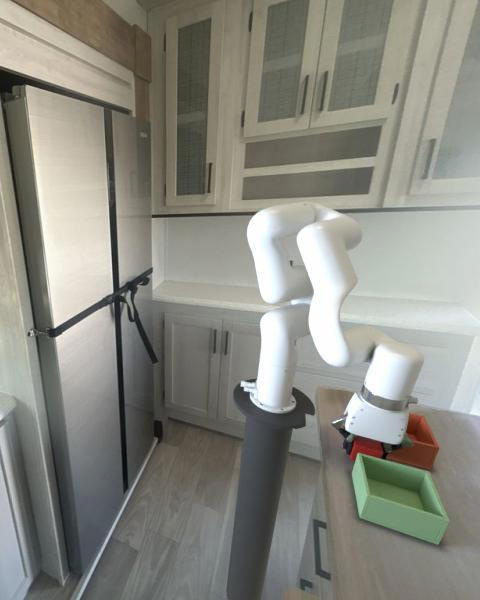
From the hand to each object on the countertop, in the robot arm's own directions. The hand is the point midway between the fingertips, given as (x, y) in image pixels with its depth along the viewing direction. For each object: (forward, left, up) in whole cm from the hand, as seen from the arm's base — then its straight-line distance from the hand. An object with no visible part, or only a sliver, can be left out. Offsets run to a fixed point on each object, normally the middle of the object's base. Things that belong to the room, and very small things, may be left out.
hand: (362, 454), depth 79 cm
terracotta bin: (+8, +9, -2) cm, 12 cm away
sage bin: (+4, -11, -2) cm, 11 cm away
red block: (0, 0, 0) cm, 0 cm away
